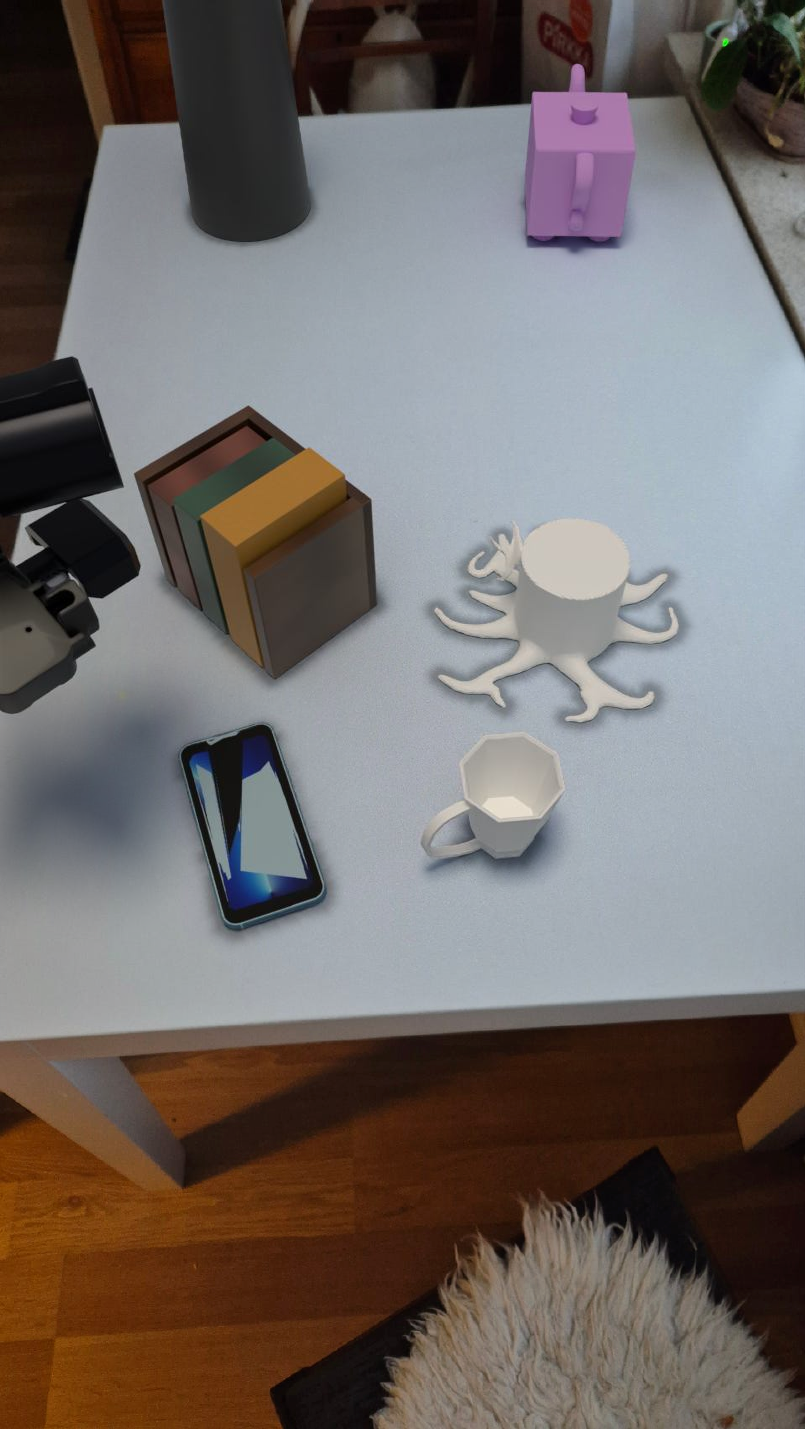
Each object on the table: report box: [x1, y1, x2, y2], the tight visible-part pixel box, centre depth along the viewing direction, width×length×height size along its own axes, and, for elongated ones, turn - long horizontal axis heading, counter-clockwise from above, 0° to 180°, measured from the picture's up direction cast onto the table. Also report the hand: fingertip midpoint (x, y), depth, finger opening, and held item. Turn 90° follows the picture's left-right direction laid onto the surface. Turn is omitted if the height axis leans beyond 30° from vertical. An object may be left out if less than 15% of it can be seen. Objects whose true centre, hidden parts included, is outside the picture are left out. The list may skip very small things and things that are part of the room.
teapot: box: [524, 63, 637, 243], centre depth 109 cm, size 20×10×12 cm, turn 177°
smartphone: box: [177, 722, 327, 930], centre depth 72 cm, size 7×1×15 cm
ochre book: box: [200, 446, 347, 668], centre depth 77 cm, size 10×4×14 cm, turn 133°
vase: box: [161, 0, 311, 242], centre depth 104 cm, size 14×14×29 cm
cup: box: [420, 731, 566, 860], centre depth 68 cm, size 7×10×8 cm
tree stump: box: [433, 517, 680, 723], centre depth 78 cm, size 20×19×8 cm
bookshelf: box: [133, 405, 378, 680], centre depth 79 cm, size 11×14×13 cm
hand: (23, 698), depth 64 cm, fingers closed
